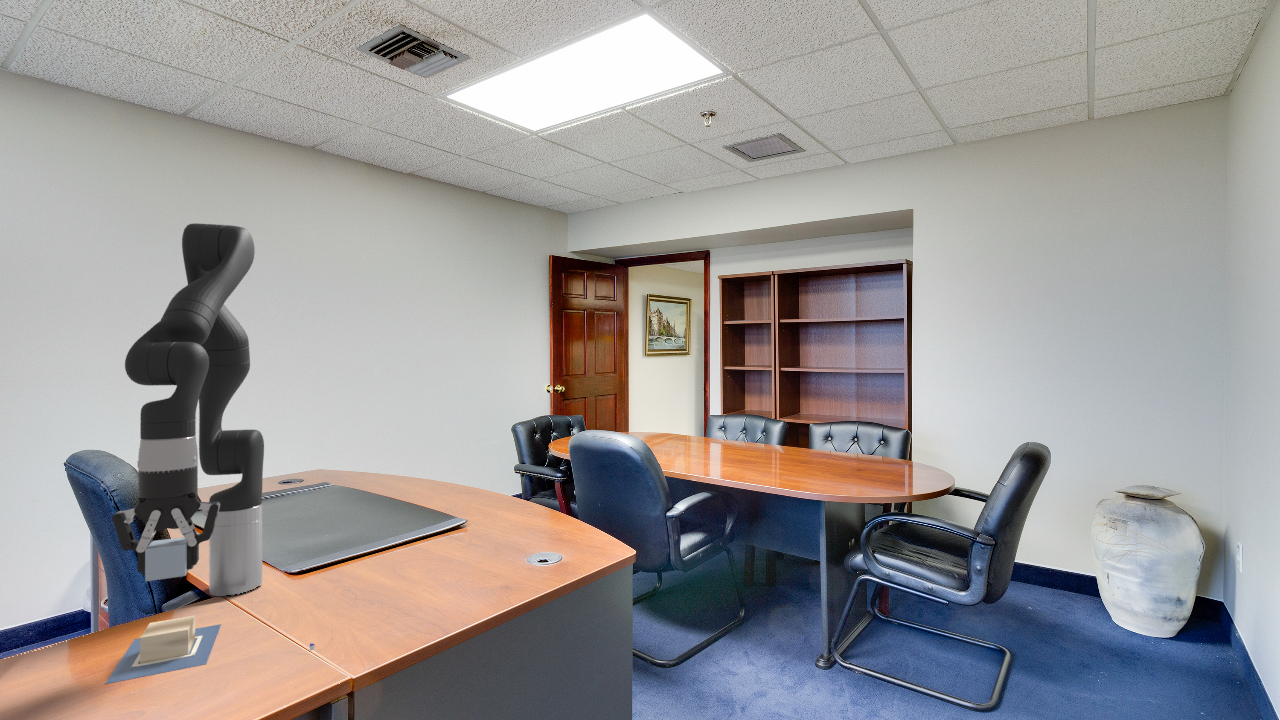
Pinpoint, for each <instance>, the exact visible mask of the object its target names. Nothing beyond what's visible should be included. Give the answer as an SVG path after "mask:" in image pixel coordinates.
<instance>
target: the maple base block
mask: <svg viewBox="0 0 1280 720" xmlns="http://www.w3.org/2000/svg"><path fill="white" fill-rule="evenodd" d="M195 629H196V615H189V616H185V617H184V616H183V617H178V618H173V619H172V618H171V619H166V620H160V621H153V622H149V624H148V625H147V627H146V628H145V630H144V632H142V634H141V635H140V637H139V638H140V664H142V663H147V662H152V661H157V660H163V659H168V658H173V657H179V656H184V655H188V654H189V652H190V650H191V648H192V645H193V643H194V641H195Z"/></svg>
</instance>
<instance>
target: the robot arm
mask: <svg viewBox="0 0 1280 720" xmlns="http://www.w3.org/2000/svg"><path fill="white" fill-rule="evenodd" d="M181 249H182V257H183V263H184V268H185V269H184V270H185V275H186V280H187V285H186V286H184V287H183V288H181V289H180V290H179V291H178V292H176V294H174V296H173V297H172V298H171V300H170V302H169V303H168V305H167V306H166V309H165V311H164V313H163V314H162V316H161V318H160V320H159V322H157V323H155V324H154V325H153V326H152V327H150V329H148V330H147V331H145V333H144V334H142V335H141V336H140V337H139V338H138V339H137V340H136V341H135V342H134V343H133V344H132V345H131V347H130V348H129V350H128V352H127V353H126V357H125V360H124V369H125V373H126V375H127V377H129V379H130V380H131V381H132V382H133V383H134V384H135V383H136V384H137V385H141V386H176V388H175V390H174V391H173V393H172V395H171V396H169V397H168V398H163V399H158V400H153V401H152V400H151V401H149V402H146V403H144V404H143V405H142V407H141V409H140V415H139V416H140V417H139V418H140V424H139V425H140V434H139V435H140V436H139V437H140V443H139V448H138V454H137V455H138V456H137V459H138V460H137V468H138V471H137V473H138V476H137V477H138V480H137V481H138V484H137V485H138V486H137V487H138V491H137V492H138V493H137V494H138V497H137V498H138V500H137V504H136V505H135V506H134V508H131V509H126V510H119V511H117V512H115V514H113V515H112V517H111V518H112V522H113V526H114V528H115V532H116V535H117V538H118V541H119V544H120V547H121V549H122V550H123V551H133V552H135V553H136V554H137V571H138V573H142V576H145V549H146V548H147V547H148V546H149V545H150V544H151V543H152V541H153V538H154V537H155V534H156V533H157V532H158V531H164V530H166V529H168V530H169V529H171V530H176V529H177V530H178V529H179V531H180V534H181V535H182V536H183V537H185V539H186V542H187V544H188V547H187V570H189V571H190V570H192V569H193V568H194V567H195V566H196V565H197V564H198V562H199V560H200V544H202V543H203V542H206V541H208V542H209V543H208V545H209V546H208V547H209V550H208V551H209V554H208V555H209V556H208V559H209V560H208V561H209V567H208V568H209V571H208V572H209V573H208V576H209V577H208V580H209V581H208V583H209V584H208V585H209V586H208V587H209V588H208V589H209V591H208V592H209V594H210V595H211V596H215V597H227V596H226V595H231V596H235V594H237V595H241V594H240V593H242V594H244V593H243V592H246V591H249V590H251V589H254V588H255V587H257V586H259V585H260V584H261V583H262V584H263V504H262V503H263V471H264V470H263V469H264V459H265V458H264V457H265V440H264V436H263V434H262V432H261V431H259V430H258V429H232V430H231V429H229V430H228V429H227V430H223V428H222V422H223V416H224V413H225V410H226V408H227V407H228V405H229V403H230V401H231V399H232V398H233V397H234V395H235V393H236V392H237V391H238V389H239V388H240V387H241V385H242V384H243V382H244V381H245V380H246V377H247V376H248V374H249V371H250V369H251V355H250V354H251V353H250V342H249V337H248V335H247V332H246V330H245V329H244V327H243V326H242V325H241V323H240V322H239V321H238V320H237V318H236V317H235V316H234V315H233V314H232V312H231V311H230V310H229V309H228V308H227V306H226V305H225V302H226V301H227V300H228V299H229V297H230V296H231V295H232V294H233V292H234V291H235V289H237V287H238V286H239V285H240V283H241V282H242V280H243V279H244V277H245V276H246V275H247V274H248V273H249V271H250V269H251V267H252V265H253V263H254V259H255V254H256V252H255V250H256V249H255V244H254V239H253V236H252V233H251V232H250V231H249V230H248V229H246V228H244V227H241V226H238V225H229V224H228V225H227V224H213V223H212V224H211V223H197V222H196V223H189V224H187V225H186V226H185V228H184V230H183V232H182V237H181ZM197 407H198V408H199V413H198V415H199V419H198V421H199V422H198V423H199V424H198V425H199V426H198V433H199V434H198V445H197V438H196V433H197V432H196V428H197V427H196V424H197V423H196V421H197V420H196V419H197V418H196V417H197V416H196V415H197ZM198 456H199V457H198ZM198 458H199V464H200V468H201V470H202V471H203V473H204V474H205V475H207V476H225V475H229V476H230V475H242V476H241V480H240V481H239V482H238V483H236V484H235V485H233V486H231V487H229V488H225V489H223V490H220V491H218V492H214V493H213V494H212V495H210V496H209V500H208V502H207V501H202V499H201V498H200V497H199V494H198V492H199V491H198V490H199V488H198V486H199V485H198V483H199V481H198V480H199V479H198V478H199V477H198V466H199V465H198ZM199 509H201V510H202V515H203V517H204V516H205V517H206V520H205V521H204V522H205V523H204V526H203V529H202V532H200V533H198V532H197V530H196V526H195V523H194V521H193V519H192V518H193V516H194V515H195V514H196V513H197V512H198V510H199ZM134 516H137V517H138V518H139V520H141V521H142V522H143V523H144V524H145V527H144V530H143V532H142V534H141V536H140V539H139V540H137V539H135V535H134V531H133V529H132V526H131V523H132V522H133V521H134ZM254 590H255V589H254ZM249 592H250V591H249ZM246 593H247V592H246Z"/></svg>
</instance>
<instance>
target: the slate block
mask: <svg viewBox="0 0 1280 720" xmlns="http://www.w3.org/2000/svg"><path fill="white" fill-rule="evenodd" d="M187 547H188V544H187V542H186V539H185V537H184V536H183V537H178V538H177V537H176V538H167V539H158V540H152V541H151V543H150V545H149V546H148V547H147V548H146V549H145V578H144V579H145V580H144V581H145V582H150V581H157V580H165V579H172V578H173V579H174V578H179V577H185V576H187V573H188V572H189V571H190V569H189V570H187Z"/></svg>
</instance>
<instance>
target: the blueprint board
mask: <svg viewBox="0 0 1280 720" xmlns="http://www.w3.org/2000/svg"><path fill="white" fill-rule="evenodd" d="M221 626H222V623H219V624H214V625H209V626H207V625H206V626H203V627H197V628H196V627H195V641H194V643H193V645H192V648H191V650H190V652H189V654H188V655H184V656H179V657H173V658H168V659H163V660H157V661H152V662H147V663H142V664H140V637H139V638H134V640H133V641H132V642H131V644H130V645H129V647H128V649H127V650H126V652H125V653H124V655H123V656H122V658H121V659H120V660H119V662H118V663H117V665H116V666H115V668H114V670H113V671H112V672H111V674H110V675H109V677H108V679H107V680H106V681H105V683H104V685H108V684H114V683H119V682H120V683H121V682H123V681H129V680H133V679H139V678H145V677H149V676H154V675H155V676H156V675H160V674H163V673H165V674H166V673H169V672H173V671H179V670H184V669H189V668H190V669H191V668H193V667H194V668H195V667H200V666H204V665H207V663H208V661H209V657H210V656H211V652H212V650H213V647H214V646H215V645H214V644H215V642H216V639H217V637H218V634H219V631H220V629H221Z"/></svg>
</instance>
